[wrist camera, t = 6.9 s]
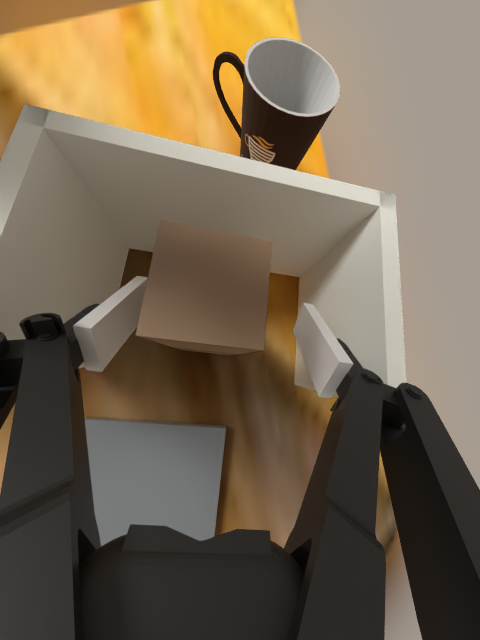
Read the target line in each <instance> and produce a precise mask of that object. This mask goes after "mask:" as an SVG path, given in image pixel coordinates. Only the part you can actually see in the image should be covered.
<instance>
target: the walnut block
mask: <svg viewBox="0 0 480 640" xmlns="http://www.w3.org/2000/svg"><path fill="white" fill-rule="evenodd" d="M272 244H273V241H269V240H263V239H258V238H253V237H248V236H243V235H238V234H232V233H227V232H222V231H217V230H212V229H206V228H201V227H196V226H191V225H186V224H181V223H175V222H170V221H165V220H160V223H159V227H158V232H157V237H156V241H155V246H154V251H153V255H152V260H151V265H150V270H149V274H148V279H147V284H146V288H145V293H144V298H143V303H142V307H141V312H140V317H139V321H138V326H137V331H136V336H139V337H142V338H145V339H148V340H151V341H155V342H158V343H161V344H164V345H167V346H170V347H174V348H177V349H180V350H185V351H194V352H203V353H212V354H221V355H235V354H242V353H250V352H257V351H264V343H265V331H266V318H267V306H268V294H269V281H270V269H271V256H272Z"/></svg>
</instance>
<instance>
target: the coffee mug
mask: <svg viewBox="0 0 480 640" xmlns="http://www.w3.org/2000/svg"><path fill="white" fill-rule="evenodd" d="M224 62H228V63H231V64H232V65H233V66H234V67H235V68H236V69H237V71H238V72H239V74H240V76H241V79H242V82H243V106H242V128H241V127H240V125H239V124H238V122H237V120H236V119H235V117H234V115H233V113H232V111H231V110H230V108H229V106H228V104H227V102H226V100H225V97H224V94H223V91H222V89H221V85H220V81H219V70H220V66H221V64H222V63H224ZM213 80H214V85H215V88H216V91H217V94H218V97H219V99H220V102H221V104H222V106H223V109H224V111H225V113H226V114H227V116H228V118H229V120H230V121H231V123H232V125H233V126H234V128H235V130H236V131H237V133H238V135H239V137H240V138H241V149H240V157H243V158H247V159H251V160H255V161H259V162H263V163H267V164H272V165H276V166H280V167H284V168H288V169H292V170H296V169H297V167H298V165H299V164H300V162H301V160H302V159H303V157H304V156H305V154H306V152H307V151H308V149H309V147H310V146H311V144H312V142H313V141H314V139H315V138H316V136H317V134H318V133H319V131H320V129H321V128H322V126H323V125H324V123H325V121H326V119H327V118H328V116H329V115H330V113H331V111H332V110H333V108H334V107H335V105H336V103H337V101H338V99H339V95H340V83H339V80H338V77H337V75H336V72H335V71H334V69H333V68H332V66H331V65H330V63H329V62H328V61H327V60H326V59H325V58H324V57H323V56H322V55H321V54H319V53H318V52H317V51H316V50H314V49H312V48H311V47H309V46H307V45H305V44H303V43H301V42H299V41H295V40H292V39H288V38H282V37H272V38H267V39H263V40H261V41H258V42H257V43H255V44H254V45H252V46H251V48H250V49H249V50H248V52H247V54H246V57H245V64H244V65H243V63H242V62H241V61H240V59H239V58H238V56H237V55H235V54H234V53H231V52H223V53H221V54H220V55H219V56H217V58H216V60H215V63H214V68H213Z"/></svg>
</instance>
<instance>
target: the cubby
mask: <svg viewBox="0 0 480 640" xmlns="http://www.w3.org/2000/svg"><path fill="white" fill-rule="evenodd" d="M160 220H165V221H170V222H175V223H181V224H186V225H191V226H196V227H201V228H206V229H212V230H217V231H222V232H227V233H232V234H238V235H243V236H248V237H253V238H258V239H263V240H269V241H273V244H272V256H271V269H270V272H271V273H277V274H282V275H288V276H294V277H299V297H298V315H299V313H300V310H301V307H302V305H303V303H308V304H313V306H314V307H315V308H316V310H317V311H318V313H319V314H320V316H321V317H322V319H323V320H324V322H325V323H326V324H327V326H328V327H329V329H330V330H331V332H332V333H333V335H334V336H335V338H338V339H340V340H342V341H343V342H344V343H345V344H346V345H347V346H348V348H349V349H350V351H351V352H352V353H353V355H354V356H355V357H356V359H357V360H358V362H359V363H360V364H361V366H362V367H363V368H364V369H367V370H370V371H372V372H374V373H375V374H377V375H378V376H379V377H380V378H381V380H382V381H383V384H386V385H389V386H392V387H395V388H397V387H398V386H399V385H400V384H401V383H407V380H406V365H405V350H404V349H405V348H404V332H403V317H402V316H403V315H402V299H401V284H400V267H399V251H398V236H397V218H396V202H395V195H394V194H390V193H385V192H382V191H377V190H373V189H369V188H365V187H361V186H357V185H353V184H349V183H345V182H341V181H336V180H333V179H329V178H324V177H320V176H316V175H312V174H308V173H304V172H300V171H296V170H292V169H288V168H284V167H280V166H276V165H272V164H267V163H263V162H259V161H255V160H251V159H247V158H243V157H239V156H235V155H231V154H227V153H223V152H219V151H215V150H210V149H206V148H202V147H198V146H194V145H190V144H186V143H182V142H178V141H174V140H170V139H166V138H162V137H158V136H153V135H149V134H145V133H141V132H137V131H133V130H129V129H125V128H121V127H117V126H113V125H109V124H105V123H101V122H96V121H92V120H88V119H84V118H80V117H76V116H72V115H68V114H64V113H60V112H56V111H52V110H48V109H43V108H39V107H35V106H31V105H27V104H25V105H24V107H23V110H22V112H21V114H20V117H19V119H18V121H17V124H16V126H15V128H14V131H13V133H12V135H11V138H10V140H9V142H8V145H7V147H6V149H5V152H4V154H3V156H2V159H1V161H0V332H3V333H4V335H5V336H6V338H7V340H19V339H26V338H25V336H24V334H23V332H22V329H21V327H20V325H19V323H20V322H21V320H23V319H25V318H26V317H29V316H32V315H35V314H40V313H55V314H58V315H60V317H61V319H62V322H63V324H64V323H65V322H67V321H68V320H70V319H71V318H72V317H75V315H76V314H78V313H80V312H81V311H82V310H83V309H85V308H86V307H88V306H91V305H93V304H101V303H103V302H104V301H105V300H107V299H108V298H109V297H110V296H112V295H113V294H114V293H116V292H117V291H118V290H119V289H120V285H121V281H122V277H123V272H124V268H125V264H126V260H127V256H128V252H129V248H130V249H136V250H142V251H148V252H153V251H154V246H155V241H156V237H157V232H158V227H159V223H160ZM82 367H85V365H84V362H83V363H82V364H81V365H80V366H79V367H78V368H82ZM294 385H297V386H301V387H304V388H307V389H310V390H314V391H316V389H315V386H314V384H313V381H312V379H311V376H310V374H309V371H308V369H307V366H306V364H305V361H304V359H303V356H302V354H301V351H300V349H299V346H298V344H297V341H296V359H295V380H294ZM333 396H334V397H337V398H339V396H338V394H337V392H335V393H334V395H333Z"/></svg>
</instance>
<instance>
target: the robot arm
mask: <svg viewBox="0 0 480 640" xmlns="http://www.w3.org/2000/svg"><path fill="white" fill-rule="evenodd" d="M147 279H148V277H142V276H136V277H135V278H133V279H132V280H131V281H130V282H128V283H127V284H126V285H125V286H123V287H122V288H121V289H119V290H118V291H117V292H116V293H114V294H113V295H112V296H110V297H109V298H108V299H107V300H105V301H104V302H103V303H101V304H93V305H91V306H88V307H86V308H85V309H83V310H82V311H81V312H80V313H78V314H76V315H75V317H72V318H71V319H70V320H68V321H67V322H65V323H64V324H63V322H62V319H61V317H60V315H58V314H55V313H40V314H35V315H32V316H29V317H26V318H25V319H23V320H21V322H20V323H19V325H20V327H21V329H22V332H23V334H24V336H25V338H26V339H19V340H7V338H6V336H5V335H4V333H3V332H0V429H1V427H2V425H3V424H4V422H5V420H6V418H7V416H8V415H9V413H10V411H11V409H12V407H13V406H14V404H15V402H16V405H15V411H14V417H13V423H12V429H11V435H10V440H9V446H8V452H7V458H6V464H5V470H4V476H3V482H2V488H1V494H0V640H384V625H385V624H384V623H385V621H384V620H385V575H386V561H385V552H384V549H383V546H382V545H381V543H380V542H379V541H378V540H377V539H376V536H375V523H376V506H377V489H378V472H379V455H380V452H381V456H382V461H383V466H384V470H385V475H386V479H387V484H388V488H389V493H390V497H391V502H392V506H393V511H394V515H395V520H396V524H397V529H398V533H399V538H400V543H401V546H402V552H403V556H404V561H405V565H406V570H407V574H408V579H409V583H410V588H411V592H412V597H413V601H414V606H415V611H416V615H417V620H418V623H419V627H420V632H421V635H422V639H423V640H480V490H479V488H478V486H477V484H476V483H475V481H474V479H473V477H472V475H471V474H470V472H469V470H468V468H467V466H466V464H465V463H464V461H463V459H462V457H461V455H460V454H459V452H458V450H457V448H456V446H455V444H454V443H453V441H452V439H451V437H450V436H449V434H448V432H447V430H446V428H445V426H444V424H443V423H442V421H441V419H440V417H439V415H438V414H437V412H436V410H435V408H434V406H433V405H432V403H431V401H430V399H429V398H428V396H427V395H426V394H425V393H424V392H423V391H422V390H421V389H419V388H418V387H416V386H413V385H411V384H408V383H401V384H400V385H399V386H398V387H397V388H395V387H392V386H389V385H386V384H383V381H382V380H381V378H380V377H379V376H378V375H377V374H375V373H374V372H372V371H370V370H367V369H364V368H363V367H362V366H361V364H360V363H359V362H358V360H357V359H356V357H355V356H354V355H353V353H352V352H351V351H350V349H349V348H348V346H347V345H346V344H345V343H344V342H343V341H342V340H340V339H338V338H335V336H334V335H333V333H332V332H331V330H330V329H329V327H328V326H327V324H326V323H325V322H324V320H323V319H322V317H321V316H320V314H319V313H318V311H317V310H316V308H315V307H314V306H313V304H308V303H303V305H302V307H301V310H300V313H299V315H298V318H297V321H296V323H295V326H294V328H293V334H294V336H295V339H296V341H297V344H298V346H299V349H300V351H301V354H302V356H303V359H304V361H305V364H306V366H307V369H308V371H309V374H310V376H311V379H312V381H313V384H314V386H315V389H316V391H317V394H318V396H319V397H323V398H332V397H333V395H334V393H335V392H337V394H338V396H339V398H338V399H337V401H336V402H335V404H334V405H333V407H332V408H331V411H333V412H332V415H331V418H330V421H329V424H328V427H327V430H326V433H325V436H324V439H323V442H322V445H321V448H320V451H319V454H318V457H317V460H316V463H315V466H314V469H313V472H312V475H311V478H310V481H309V484H308V487H307V490H306V494H305V497H304V500H303V503H302V506H301V509H300V512H299V515H298V518H297V521H296V523H295V526H294V528H293V530H292V532H291V534H290V536H289V538H288V540H287V542H286V545H285V547H284V549H283V548H282V547H281V546H279V545H277V544H276V543H274V542H272V541H270V531H267V530H245V529H236V530H233V531H230V532H227V533H224V534H221V535H218V536H215V537H212V538H209V539H206V540H203V541H199V540H196V539H194V538H192V537H190V536H187V535H185V534H183V533H181V532H179V531H176V530H174V529H172V528H170V527H167V526H157V525H136V524H130V526H129V529H128V532H127V534H126V535H123V536H120V537H118V538H115V539H113V540H111V541H109V542H108V543H106V544H104V545H103V546H101V542H100V536H99V530H98V526H97V522H96V518H95V511H94V502H93V493H92V484H91V474H90V465H89V456H88V446H87V437H86V427H85V418H84V409H83V399H82V390H81V381H80V372H79V369H78V367H79V366H80V365H81V364H82V363H83V362H84V365H85V368H86V370H89V371H98V372H102V371H103V370H104V369H105V367H106V366H107V365H108V363H109V362H110V361H111V360H112V358H113V357H114V356H115V354H116V353H117V352H118V351H119V349H120V348H121V347H122V346H123V344H124V343H125V342H126V340H127V339H128V338H129V337H130V335H131V334H132V333H133V331H134V330H135V329H136V328H137V326H138V321H139V317H140V312H141V307H142V303H143V298H144V293H145V288H146V284H147Z"/></svg>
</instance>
